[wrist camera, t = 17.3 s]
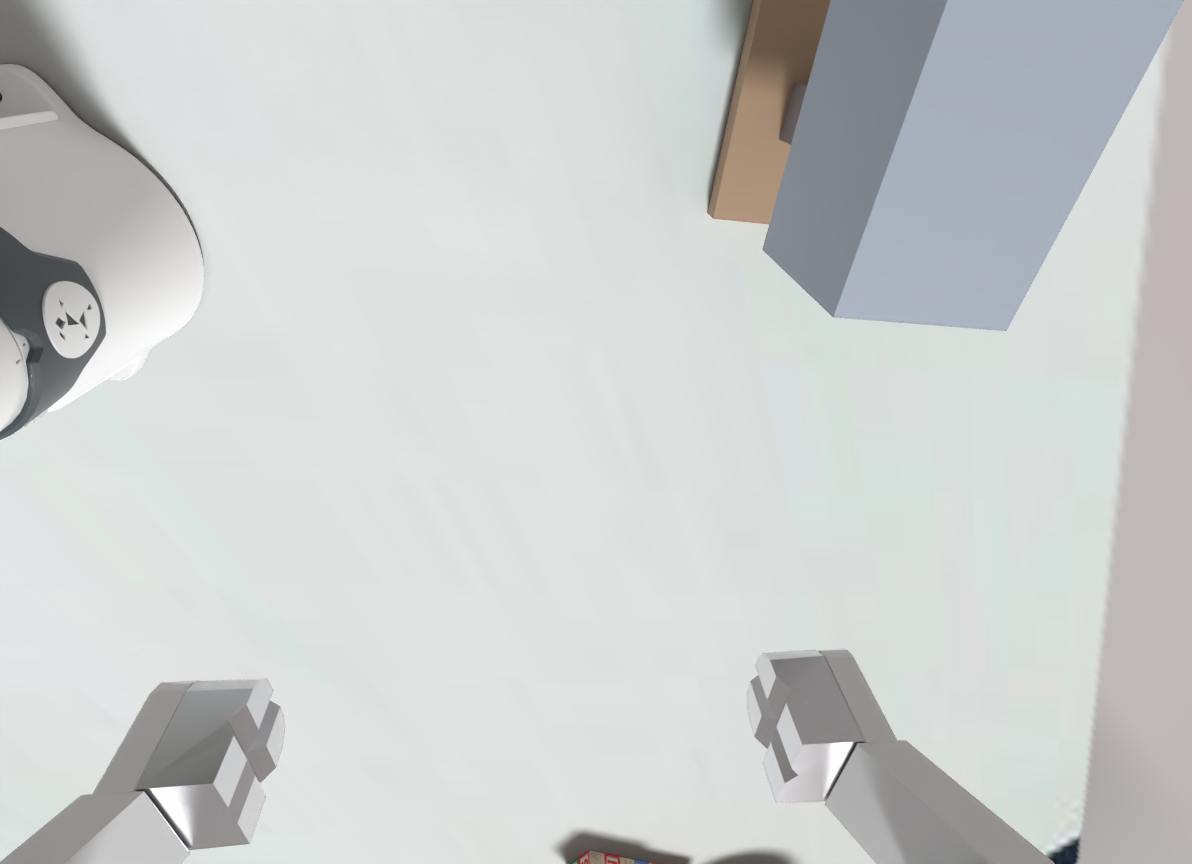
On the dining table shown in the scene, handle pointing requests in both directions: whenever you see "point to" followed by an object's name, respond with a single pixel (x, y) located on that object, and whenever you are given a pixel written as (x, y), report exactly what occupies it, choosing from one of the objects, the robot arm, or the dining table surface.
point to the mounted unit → (925, 143)
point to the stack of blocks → (605, 859)
